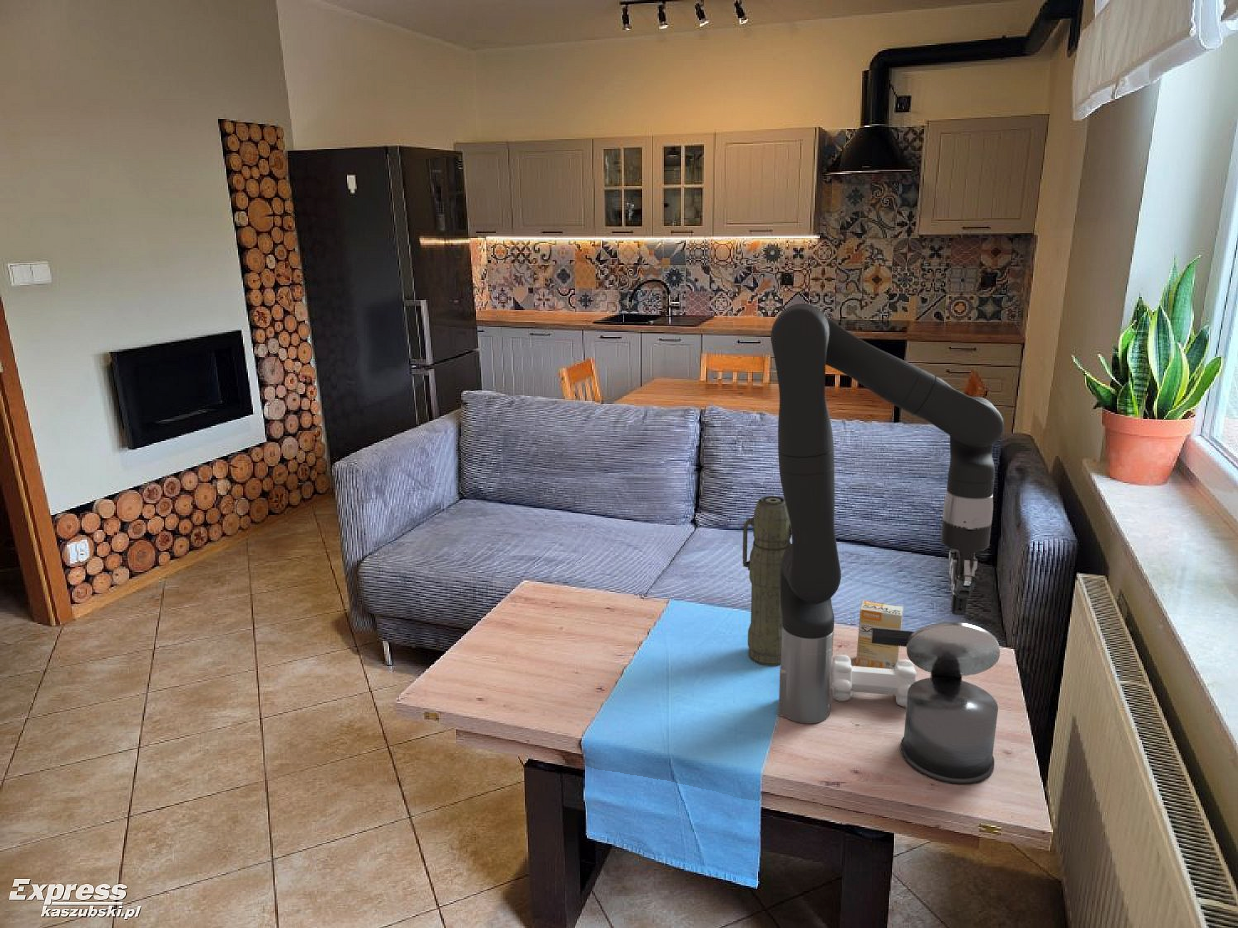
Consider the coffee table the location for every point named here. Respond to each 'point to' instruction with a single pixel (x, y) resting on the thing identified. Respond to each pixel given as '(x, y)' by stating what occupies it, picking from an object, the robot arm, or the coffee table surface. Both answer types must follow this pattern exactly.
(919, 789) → the coffee table surface
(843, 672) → the white bone
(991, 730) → the cooker pot
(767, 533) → the thermos
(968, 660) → the cooker lid
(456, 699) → the coffee table surface
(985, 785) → the coffee table surface
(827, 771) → the coffee table surface
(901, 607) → the supplement box
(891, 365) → the robot arm
